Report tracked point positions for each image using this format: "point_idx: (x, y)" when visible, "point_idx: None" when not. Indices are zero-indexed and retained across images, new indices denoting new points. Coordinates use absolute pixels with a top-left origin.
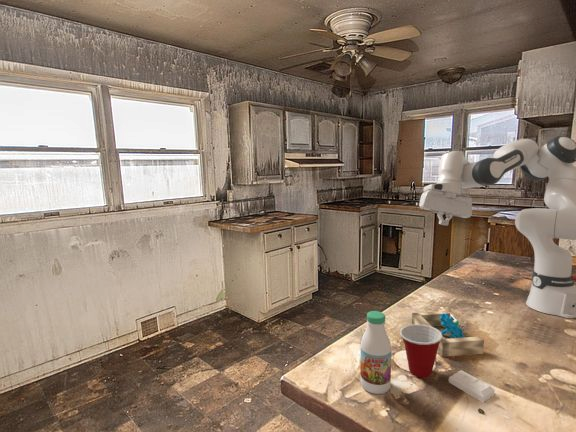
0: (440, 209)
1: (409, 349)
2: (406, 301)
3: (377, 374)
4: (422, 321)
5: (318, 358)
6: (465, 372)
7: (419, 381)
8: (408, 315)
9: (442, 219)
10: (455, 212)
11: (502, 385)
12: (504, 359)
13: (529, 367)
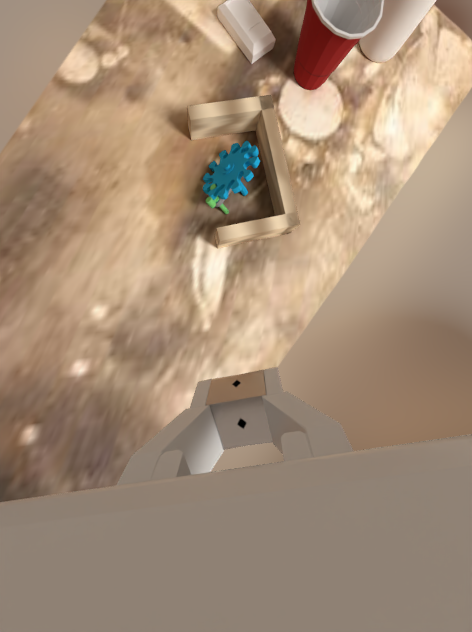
0: (410, 462)
1: (355, 9)
2: (279, 351)
3: None
4: (287, 183)
5: (452, 110)
6: (249, 38)
7: None
8: (288, 276)
9: (274, 393)
10: (39, 518)
11: (194, 38)
12: (157, 110)
13: (125, 85)
